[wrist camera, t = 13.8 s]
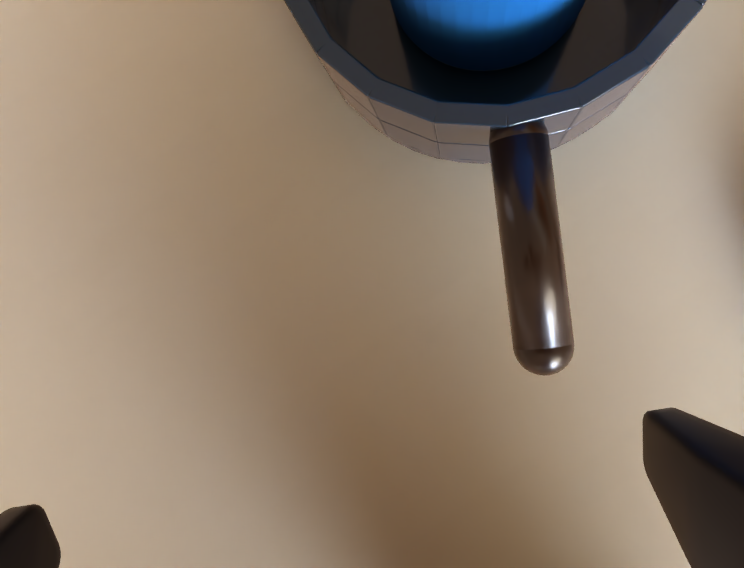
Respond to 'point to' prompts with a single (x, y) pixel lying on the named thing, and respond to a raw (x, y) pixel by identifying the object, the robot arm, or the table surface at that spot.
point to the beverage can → (485, 29)
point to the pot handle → (531, 247)
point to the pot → (488, 73)
